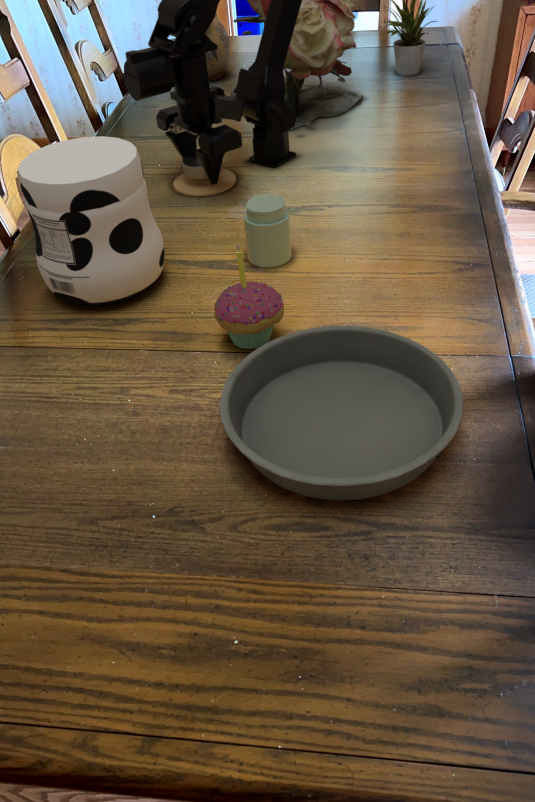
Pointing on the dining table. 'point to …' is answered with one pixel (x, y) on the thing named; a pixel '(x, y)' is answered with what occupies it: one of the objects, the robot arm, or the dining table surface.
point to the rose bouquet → (314, 56)
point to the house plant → (408, 38)
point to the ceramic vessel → (217, 50)
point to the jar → (267, 231)
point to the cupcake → (248, 310)
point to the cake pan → (341, 411)
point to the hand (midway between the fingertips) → (204, 177)
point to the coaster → (204, 184)
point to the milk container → (92, 219)
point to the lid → (194, 167)
